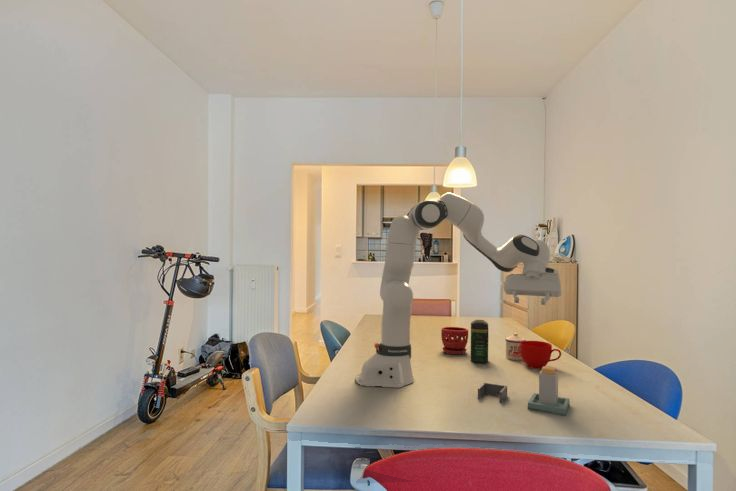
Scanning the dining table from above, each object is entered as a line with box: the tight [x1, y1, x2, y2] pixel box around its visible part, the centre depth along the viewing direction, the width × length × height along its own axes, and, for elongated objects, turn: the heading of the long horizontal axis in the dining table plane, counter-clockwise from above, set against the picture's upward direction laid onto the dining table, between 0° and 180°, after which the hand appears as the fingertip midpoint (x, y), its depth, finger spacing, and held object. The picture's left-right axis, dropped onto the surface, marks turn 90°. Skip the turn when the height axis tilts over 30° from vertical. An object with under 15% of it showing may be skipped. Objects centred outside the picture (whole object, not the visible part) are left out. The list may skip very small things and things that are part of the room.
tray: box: [527, 392, 570, 417], centre depth 141 cm, size 11×11×2 cm
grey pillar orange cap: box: [538, 365, 559, 407], centre depth 141 cm, size 5×5×12 cm
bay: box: [477, 382, 508, 404], centre depth 150 cm, size 8×8×4 cm
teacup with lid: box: [504, 332, 527, 361], centre depth 205 cm, size 12×9×12 cm
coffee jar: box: [470, 319, 489, 364], centre depth 200 cm, size 10×8×19 cm
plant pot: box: [440, 326, 469, 356], centre depth 216 cm, size 13×13×12 cm
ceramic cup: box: [520, 340, 562, 370], centre depth 189 cm, size 13×17×10 cm
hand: (529, 302), depth 160 cm, fingers open, 8 cm apart
